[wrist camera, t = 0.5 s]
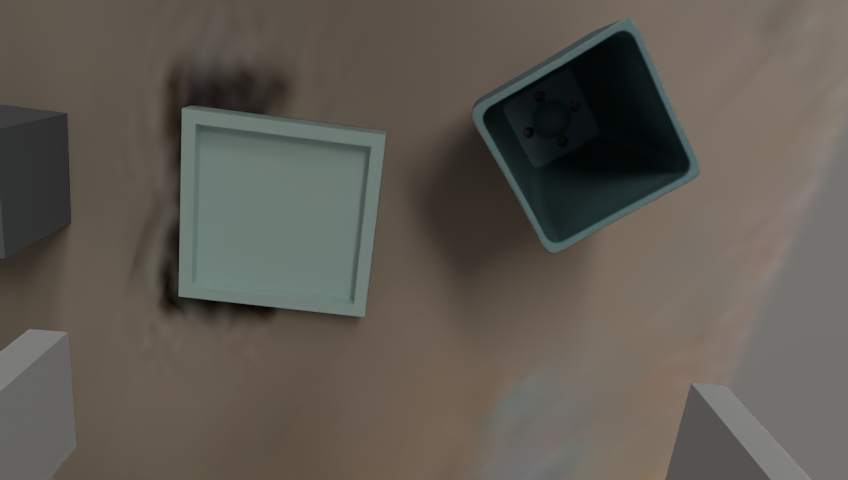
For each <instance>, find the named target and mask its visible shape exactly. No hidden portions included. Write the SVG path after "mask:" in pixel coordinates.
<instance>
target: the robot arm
mask: <svg viewBox="0 0 848 480" xmlns="http://www.w3.org/2000/svg"><path fill="white" fill-rule="evenodd" d="M75 448H76V434H75V420H74V407H73V393H72V380H71V366H70V353H69V339H68V332H60V331H48V330H35V329H29V330H27V331H26V332H25V333H24V334H22V335H21V336H20V337H18V338H17V339H16V340H15V341H13V342H12V343H11V344H9V345H8V346H7V347H6V348H4V349H3V350H2V351H0V480H50V479H51V478H52V476H53V475H54V474H55V473H56V471H57V470H58V469H59V468H60V466H61V465H62V464H63V463H64V461H65V460H66V459H67V458H68V456H69V455H70V454H71V453H72V451H73V450H74V449H75ZM665 480H811V479H810V478H809V477H808V476H807V474H805V472H804V471H803V470H802V469H801V468H800V467H799V466H798V465H797V464H796V462H795V461H794V460H793V459H792V458H791V457H790V456H789V455H788V454H787V453H786V451H784V449H783V448H782V447H781V446H780V445H779V444H778V443H777V442H776V441H775V439H774V438H773V437H772V436H771V435H770V434H769V433H768V432H767V431H766V430H765V429H764V427H763V426H762V425H761V424H760V423H759V422H758V421H757V420H756V419H755V417H754V416H753V415H752V414H751V413H750V412H749V411H748V410H747V409H746V408H745V407H744V405H743V404H742V403H741V402H740V401H739V400H738V399H737V398H736V397H735V396H734V394H732V392H731V391H730V390H729V389H728V388H727V387H726V386H723V385H710V384H698V383H691V386H690V390H689V393H688V397H687V401H686V405H685V408H684V412H683V416H682V420H681V423H680V427H679V431H678V434H677V438H676V442H675V446H674V449H673V453H672V457H671V461H670V464H669V468H668V472H667V476H666V479H665Z"/></svg>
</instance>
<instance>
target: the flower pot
mask: <svg viewBox="0 0 848 480" xmlns="http://www.w3.org/2000/svg"><path fill="white" fill-rule="evenodd" d="M538 92H542V93H543V99H542V100H536V98H535V95H536V93H538ZM573 101H576V102H577V103H578V108H577V109H576V110H572V109H571V108H570V104H571V102H573ZM471 116H472V120H473V123H474V125H475V127H476V128H477V130H478V132H479V133H480V135H481V136H482V138H483V140H484V142H485V143H486V145H487V147H488V149H489V150H490V152H491V154H492V156H493V157H494V159H495V161H496V162H497V164H498V166H499V168H500V169H501V171H502V173H503V175H504V176H505V178H506V180H507V182H508V184H509V185H510V187H511V189H512V191H513V192H514V194H515V196H516V198H517V200H518V201H519V203H520V205H521V207H522V209H523V210H524V212H525V214H526V216H527V218H528V220H529V222H530V223H531V225H532V227H533V229H534V231H535V233H536V235H537V237H538V239H539V241H540V242H541V244H542V246H543V247H544V249H545V250H546V251H547V252H549V253H557V252H559V251H562V250H564V249H566V248H568V247H569V246H571V245H573V244H574V243H577V242H578V241H580V240H582V239H583V238H586V237H587V236H589V235H591V234H593V233H594V232H596V231H598V230H600V229H602V228H604V227H606V226H608V225H609V224H611V223H613V222H615V221H616V220H618V219H620V218H622V217H624V216H626V215H628V214H629V213H632V212H634V211H635V210H637V209H639V208H641V207H642V206H644V205H647V204H648V203H650V202H652V201H654V200H656V199H658V198H660V197H661V196H663V195H665V194H667V193H669V192H671V191H673V190H675V189H677V188H679V187H680V186H682V185H684V184H686V183H688V182H690V181H691V180H693V179H694V178H696V177H697V176H698V175H699V173H700V164H699V161H698V158H697V156H696V154H695V152H694V150H693V148H692V146H691V144H690V141H689V139H688V137H687V135H686V133H685V131H684V129H683V127H682V125H681V122H680V120H679V118H678V116H677V114H676V112H675V109H674V107H673V105H672V103H671V101H670V98H669V96H668V94H667V92H666V89H665V87H664V85H663V82H662V80H661V78H660V76H659V73H658V71H657V69H656V66H655V64H654V62H653V60H652V57H651V55H650V53H649V51H648V48H647V46H646V44H645V41H644V39H643V37H642V34H641V32H640V30H639V28H638V26H637V24H636V23H635V21H633V20H632V19H631V18H625V19H622V20H620V21H617V22H615V23H612V24H610V25H608V26H605V27H603V28H600V29H598V30H596V31H593V32H591V33H590V34H588V35H586V36H585V37H583V38H581V39H580V40H578V41H577V42H575V43H573V44H572V45H570V46H568V47H567V48H565V49H563V50H562V51H560V52H558V53H557V54H555V55H553V56H552V57H550V58H548V59H547V60H545V61H543V62H542V63H540V64H538V65H537V66H535V67H533V68H532V69H530V70H528V71H527V72H525V73H523V74H521V75H520V76H518V77H516V78H514V79H513V80H511V81H509V82H508V83H506V84H504V85H502V86H500V87H499V88H497V89H495V90H493V91H492V92H490V93H488V94H486V95H484V96H483V97H481V98H480V99H478V100H477V101H476V103H475V104H474V107H473V109H472V113H471ZM526 128H530V129H531V130H532V133H531V135H530V136H526V135H525V134H524V130H525V129H526ZM561 137H565V138H566V143H565V144H563V145H561V144H559V142H558V140H559V139H560V138H561Z"/></svg>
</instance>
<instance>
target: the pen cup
mask: <svg viewBox="0 0 848 480" xmlns="http://www.w3.org/2000/svg"><path fill="white" fill-rule="evenodd" d="M69 223H71V213H70V185H69V158H68V131H67V113H59V112H52V111H44V110H36V109H28V108H21V107H13V106H5V105H0V259H6V258H8V257H10V256H11V255H13V254H15V253H17V252H19V251H20V250H22V249H24V248H26V247H28V246H29V245H31V244H33V243H35V242H37V241H38V240H40V239H42V238H44V237H46V236H47V235H49V234H51V233H53V232H55V231H56V230H58V229H60V228H62V227H64V226H65V225H67V224H69Z"/></svg>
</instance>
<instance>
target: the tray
mask: <svg viewBox="0 0 848 480" xmlns="http://www.w3.org/2000/svg"><path fill="white" fill-rule="evenodd" d="M386 134H387V131H383V130H375V129H368V128H360V127H353V126H345V125H338V124H330V123H323V122H315V121H307V120H300V119H292V118H285V117H277V116H270V115H262V114H255V113H247V112H239V111H232V110H224V109H217V108H209V107H202V106H194V105H191V106H188V107H185V108H182V135H181V189H180V244H179V297H188V298H197V299H206V300H215V301H224V302H233V303H242V304H250V305H259V306H268V307H277V308H286V309H295V310H304V311H313V312H322V313H331V314H340V315H349V316H358V317H365V312H366V305H367V296H368V287H369V279H370V270H371V262H372V253H373V245H374V236H375V228H376V219H377V211H378V202H379V194H380V185H381V177H382V168H383V160H384V151H385V143H386Z"/></svg>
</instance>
